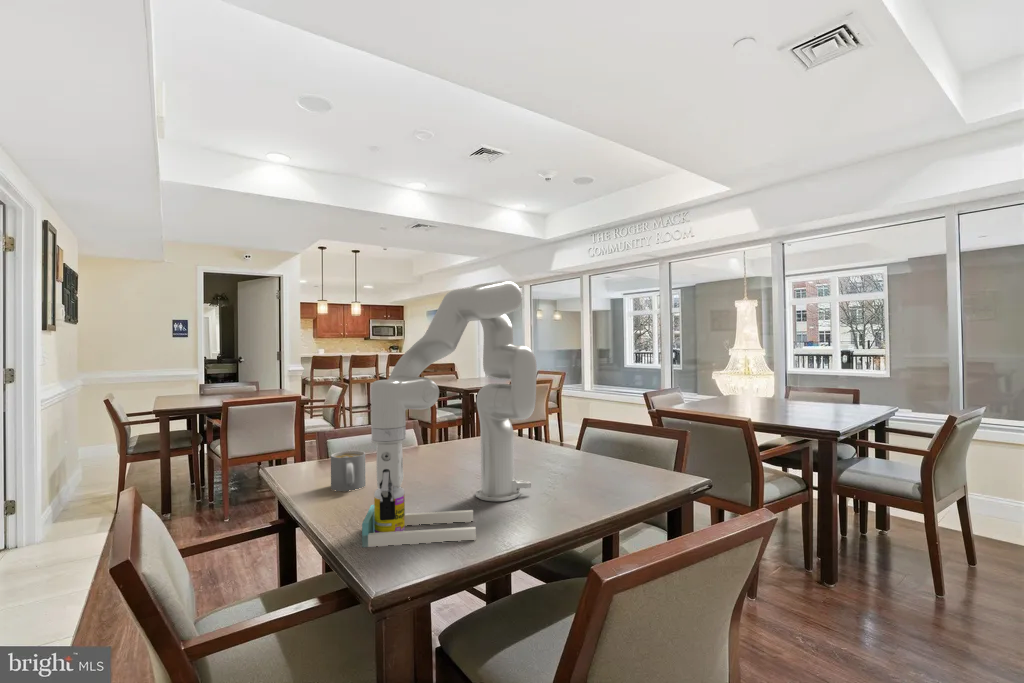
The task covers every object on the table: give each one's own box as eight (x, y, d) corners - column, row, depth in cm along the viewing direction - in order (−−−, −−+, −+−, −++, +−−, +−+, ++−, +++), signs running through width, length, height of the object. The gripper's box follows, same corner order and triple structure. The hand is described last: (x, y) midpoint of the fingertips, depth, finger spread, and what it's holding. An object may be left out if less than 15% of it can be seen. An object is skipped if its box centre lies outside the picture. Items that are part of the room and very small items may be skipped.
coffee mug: (334, 483, 151) (334, 451, 151) (367, 481, 153) (367, 449, 153) (325, 496, 138) (325, 461, 138) (361, 494, 140) (361, 459, 140)
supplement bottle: (397, 541, 105) (396, 482, 105) (369, 539, 106) (368, 480, 106) (409, 529, 112) (409, 473, 112) (383, 527, 113) (382, 472, 113)
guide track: (472, 520, 118) (472, 499, 118) (475, 540, 105) (475, 517, 105) (371, 526, 114) (371, 504, 114) (362, 547, 102) (362, 523, 102)
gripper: (402, 441, 101) (403, 526, 101) (408, 427, 118) (409, 500, 118) (365, 442, 100) (366, 529, 100) (377, 428, 117) (378, 502, 117)
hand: (389, 513), depth 109 cm, fingers closed on supplement bottle, 6 cm apart
